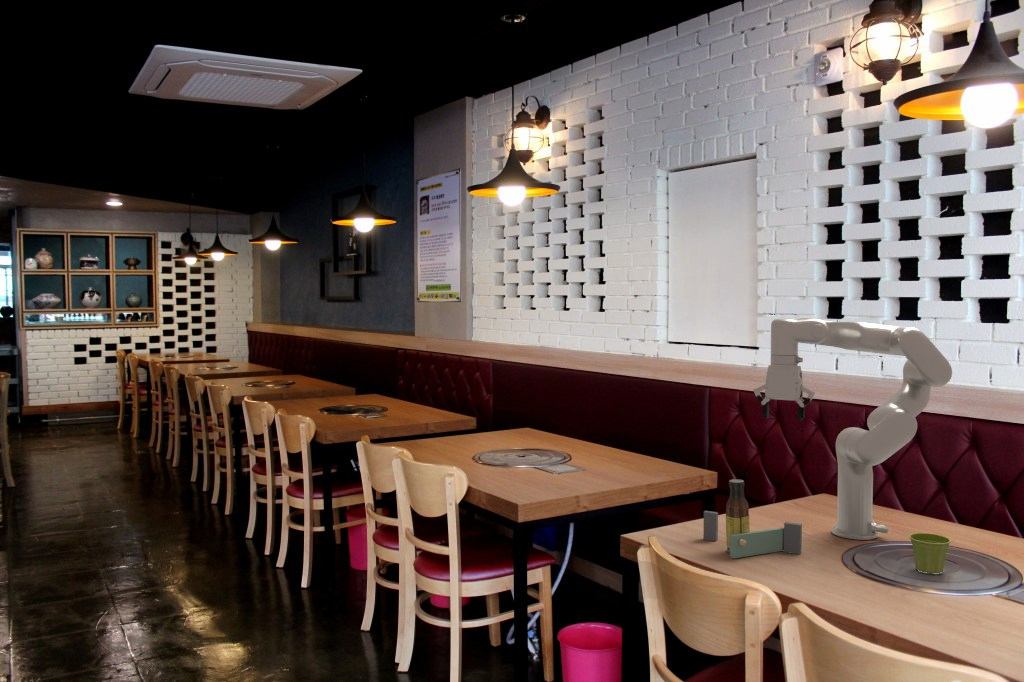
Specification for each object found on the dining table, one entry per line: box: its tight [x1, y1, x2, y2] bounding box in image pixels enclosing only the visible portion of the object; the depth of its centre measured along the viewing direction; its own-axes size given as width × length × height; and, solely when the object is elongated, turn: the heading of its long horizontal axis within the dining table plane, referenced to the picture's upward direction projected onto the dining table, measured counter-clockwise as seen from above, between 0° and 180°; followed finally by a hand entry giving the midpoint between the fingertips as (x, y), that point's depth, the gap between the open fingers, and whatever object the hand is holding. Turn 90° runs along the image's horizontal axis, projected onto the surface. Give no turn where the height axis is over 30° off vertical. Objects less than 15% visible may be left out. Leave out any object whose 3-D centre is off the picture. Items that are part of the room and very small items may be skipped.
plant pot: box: [908, 532, 952, 573], centre depth 204 cm, size 9×9×9 cm
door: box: [729, 527, 784, 559], centre depth 217 cm, size 18×3×6 cm, turn 115°
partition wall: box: [702, 510, 803, 555], centre depth 226 cm, size 27×2×8 cm, turn 58°
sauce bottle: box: [725, 478, 751, 554], centre depth 220 cm, size 6×6×20 cm
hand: (783, 419), depth 236 cm, fingers open, 9 cm apart
